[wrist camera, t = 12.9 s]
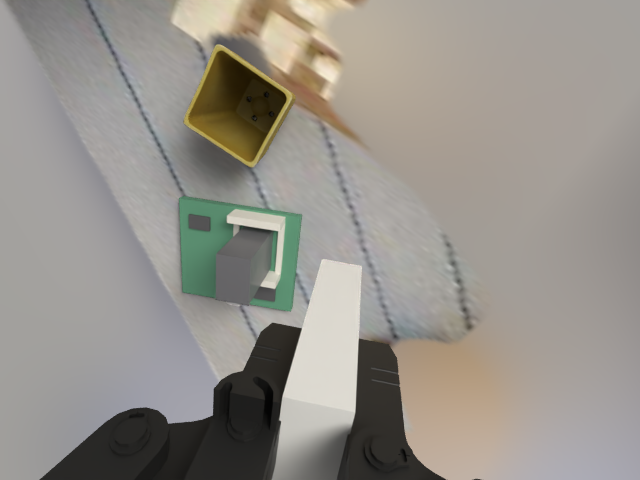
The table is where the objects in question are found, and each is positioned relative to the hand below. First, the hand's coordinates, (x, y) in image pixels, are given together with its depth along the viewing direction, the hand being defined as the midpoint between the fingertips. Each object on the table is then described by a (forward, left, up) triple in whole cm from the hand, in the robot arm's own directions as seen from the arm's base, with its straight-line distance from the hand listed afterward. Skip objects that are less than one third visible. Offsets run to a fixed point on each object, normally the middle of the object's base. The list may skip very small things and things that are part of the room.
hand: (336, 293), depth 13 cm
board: (+16, -15, -34) cm, 40 cm away
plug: (+14, -12, -32) cm, 37 cm away
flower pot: (-4, -13, -34) cm, 37 cm away
